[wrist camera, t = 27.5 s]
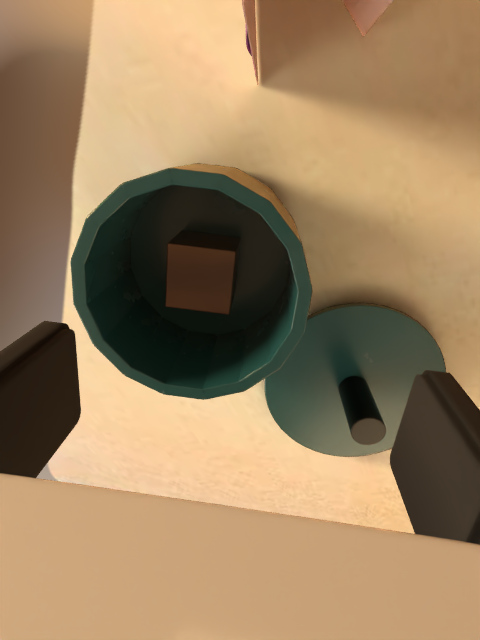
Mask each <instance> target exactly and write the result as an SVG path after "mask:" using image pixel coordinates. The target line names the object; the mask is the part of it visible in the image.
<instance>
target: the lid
mask: <svg viewBox="0 0 480 640" xmlns="http://www.w3.org/2000/svg"><path fill="white" fill-rule="evenodd" d="M425 370H431V371H439V372H446V368H445V363H444V358H443V355H442V353H441V350H440V348H439V346H438V345H437V343H436V341H435V339H434V338H433V337H432V336H431V335H430V333H429V332H428V331H427V330H426V329H425V328H424V327H423V326H422V325H421V324H420V323H419V322H418V321H416V320H415V319H413V318H412V317H410V316H409V315H407V314H405V313H403V312H401V311H398V310H396V309H393V308H390V307H387V306H382V305H377V304H369V303H351V304H343V305H338V306H333V307H330V308H327V309H323V310H321V311H319V312H316V313H314V314H312V315H310V316H308V317H307V322H306V327H305V332H304V335H303V337H302V338H301V339H300V341H299V342H298V344H297V345H296V347H295V348H294V350H293V351H292V352H291V354H290V355H289V357H288V358H287V360H286V361H285V363H284V364H283V365H282V367H281V368H280V369H279V370H277V371H276V372H274V373H272V374H271V375H269V376H268V377H266V378H265V397H266V401H267V405H268V408H269V410H270V412H271V415H272V416H273V418H274V420H275V421H276V423H277V424H278V425H279V427H280V428H281V429H282V430H283V431H284V432H285V433H286V434H287V435H288V436H289V437H291V438H292V439H293V440H295V441H296V442H298V443H299V444H301V445H303V446H305V447H307V448H309V449H311V450H314V451H317V452H320V453H323V454H328V455H333V456H343V457H357V456H366V455H371V454H376V453H380V452H383V451H386V450H389V449H391V448H393V445H394V441H395V438H396V435H397V432H398V429H399V426H400V423H401V419H402V416H403V413H404V410H405V407H406V404H407V400H408V397H409V394H410V391H411V388H412V385H413V382H414V379H415V377H416V375H418V374H420V375H422V373H423V372H424V371H425Z"/></svg>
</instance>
